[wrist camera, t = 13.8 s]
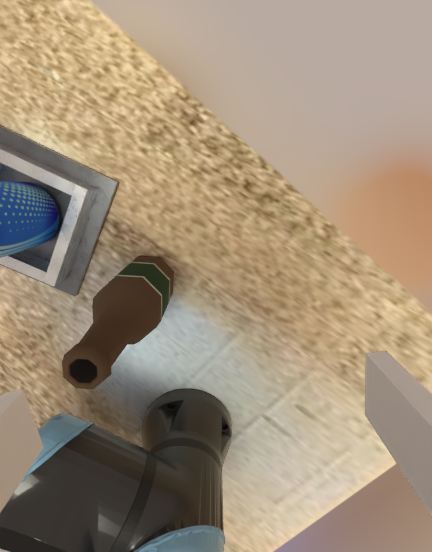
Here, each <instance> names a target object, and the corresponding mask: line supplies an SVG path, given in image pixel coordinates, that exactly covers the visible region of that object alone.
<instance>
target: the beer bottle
mask: <svg viewBox="0 0 432 552" xmlns="http://www.w3.org/2000/svg"><path fill="white" fill-rule="evenodd" d="M172 292H173V271H172V270H171V268H170V267H169V266H168V265H167V264H166V263H165V262H164V261H163V260H162V259H161V258H160V257H150V256H139V257H137V258H136V259H135V260H133V261H132V262H131V263H130V264H129V265H128V266H127V267H126V268H124V269H123V270H122V271H121V272H120V273H119V274H118V275H117V276H116V277H114V278H113V279H112V280H111V281H110V282H109V283H108V284H107V285H106V286H105V287H104V288H102V289H101V290H100V291H99V292H98V293H97V295H96V296H95V297H94V298H93V306H92V307H93V324H92V326H91V327H90V328H89V330H88V331H87V333H86V334H85V335H84V337H83V338H82V339H81V341H80V342H79V344H76V345H75V346H74V347H73V348H72V349H71V350H70V351H68V352H67V353H66V354H65V355H64V358H63V361H62V366H63V377H64V378H65V379H66V380H67V381H68V382H70V383H71V384H72V385H73V386H74V387H76V388H83V389H94V388H95V387H96V386H98V385H99V384H100V383H101V382H102V381H104V380H105V379H106V378H107V377H108V376H110V375H111V366H112V365H113V363H114V362H115V361H116V359H117V358H118V356H119V355H120V354H121V352H122V351H123V349H124V348H125V347H126V345H127V344H135V343H137V342H139V341H140V340H142V339H143V338H144V337H145V336H146V335H148V334H149V333H150V332H151V331H152V330H154V329H155V328H156V327H157V326H158V324H159V323H160V321H161V319H162V317H163V315H164V312H165V310H166V307H167V305H168V303H169V300H170V298H171V295H172Z"/></svg>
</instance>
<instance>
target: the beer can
mask: <svg viewBox="0 0 432 552" xmlns="http://www.w3.org/2000/svg"><path fill="white" fill-rule="evenodd" d="M58 223H59V215H58V210H57V207H56V205H55V203H54V201H53V199H52V198H51V197H50V195H49V194H48V193H47V192H46V191H44V190H43V189H42V188H40V187H39V186H37V185H34V184H32V183H28V182H11V181H0V258H1V257H4V256H7V255H10V254H13V253H16V252H19V251H22V250H26V249H29V248H32V247H35V246H38V245H41V244H43V243H45V242H47V241H48V240H50V239H51V238H52V237H53V235H54V234H55V232H56V230H57V228H58Z"/></svg>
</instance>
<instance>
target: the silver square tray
mask: <svg viewBox="0 0 432 552" xmlns="http://www.w3.org/2000/svg"><path fill="white" fill-rule="evenodd" d="M0 181H11V182H28V183H32V184H34V185H37V186H39V187H40V188H42V189H43V190H44V191H46V192H47V193H48V194H49V195H50V197H51V198H52V199H53V201H54V203H55V205H56V207H57V210H58V215H59V223H58V228H57V230H56V232H55V234H54V235H53V237H52V238H51V239H50V240H48V241H47V242H45V243H43V244H41V245H38V246H35V247H32V248H29V249H26V250H22V251H19V252H16V253H13V254H10V255H7V256H4V257H1V258H0V265H3V266H5V267H7V268H10V269H12V270H14V271H17V272H19V273H21V274H24V275H26V276H29V277H31V278H33V279H36V280H38V281H40V282H43V283H45V284H47V285H50V286H52V287H54V288H57V289H59V290H62V291H64V292H66V293H69V294H71V295H73V296H76V295H77V294H78V293H79V290H80V287H81V285H82V282H83V279H84V277H85V274H86V271H87V268H88V266H89V263H90V260H91V258H92V255H93V252H94V250H95V247H96V244H97V241H98V239H99V236H100V233H101V231H102V228H103V225H104V222H105V220H106V217H107V214H108V212H109V209H110V206H111V204H112V201H113V198H114V195H115V193H116V190H117V187H118V185H119V182H118V181H115V180H113V179H111V178H109V177H107V176H105V175H103V174H101V173H99V172H97V171H95V170H92V169H90V168H88V167H86V166H84V165H82V164H80V163H78V162H76V161H74V160H72V159H70V158H67V157H65V156H63V155H61V154H59V153H57V152H55V151H53V150H51V149H49V148H47V147H44V146H42V145H40V144H38V143H36V142H34V141H32V140H30V139H28V138H26V137H24V136H21V135H19V134H17V133H15V132H13V131H11V130H9V129H7V128H5V127H3V126H1V125H0Z"/></svg>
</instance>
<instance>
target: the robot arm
mask: <svg viewBox="0 0 432 552" xmlns="http://www.w3.org/2000/svg"><path fill="white" fill-rule="evenodd" d="M365 415H366V417H367V418H368V420H369V422H370V423H371V425H372V426H373V428H374V429H375V431H376V432H377V434H378V435H379V437H380V438H381V440H382V441H383V443H384V445H385V446H386V448H387V449H388V451H389V452H390V454H391V455H392V457H393V458H394V460H395V461H396V463H397V464H398V466H399V467H400V469H401V471H402V472H403V474H404V475H405V477H406V478H407V480H408V481H409V483H410V484H411V486H412V487H413V489H414V490H415V492H416V494H417V495H418V497H419V498H420V500H421V501H422V503H423V504H424V506H425V507H426V509H427V510H428V512H429V513H430V515H431V516H432V394H431V393H430V392H429V391H428V390H426V389H425V388H424V387H423V386H422V385H421V384H420V383H419V382H418V381H417V380H416V379H415V378H414V377H413V376H412V375H411V374H410V373H409V372H408V371H407V370H406V369H405V368H404V367H403V366H402V365H401V364H400V363H398V362H397V361H396V360H395V359H394V358H393V357H392V356H391V355H390V354H389V353H388V352H387V351H382V352H372V353H366V365H365ZM231 437H232V429H231V419H230V416H229V413H228V411H227V409H226V408H225V406H224V405H223V404H222V403H221V402H220V401H219V400H218V399H216V398H215V397H213V396H212V395H210V394H208V393H206V392H203V391H199V390H194V389H179V390H174V391H171V392H168V393H166V394H164V395H162V396H160V397H159V398H157V399H156V400H155V401H154V402H153V403H152V404H151V406H150V407H149V409H148V410H147V413H146V416H145V419H144V422H143V426H142V441H143V448H141V447H139V446H137V445H135V444H133V443H131V442H129V441H127V440H125V439H122V438H120V437H118V436H116V435H114V434H112V433H110V432H108V431H106V430H104V429H102V428H100V427H98V426H96V425H94V423H93V422H87V421H85V420H82V419H79V418H77V417H74V416H72V415H70V414H58V415H56V416H54V417H52V418H50V419H49V420H48V421H46V422H45V423H44V424H43V425H42V426H41V427H40V428H39V429H37V427H36V424H35V421H34V418H33V415H32V412H31V410H30V407H29V404H28V401H27V398H26V395H25V393H24V391H15V392H6V393H4V394H3V395H2V396H1V397H0V552H223V551H224V543H225V536H224V533H223V494H222V466H223V463H224V460H225V457H226V455H227V452H228V449H229V446H230V443H231Z"/></svg>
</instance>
